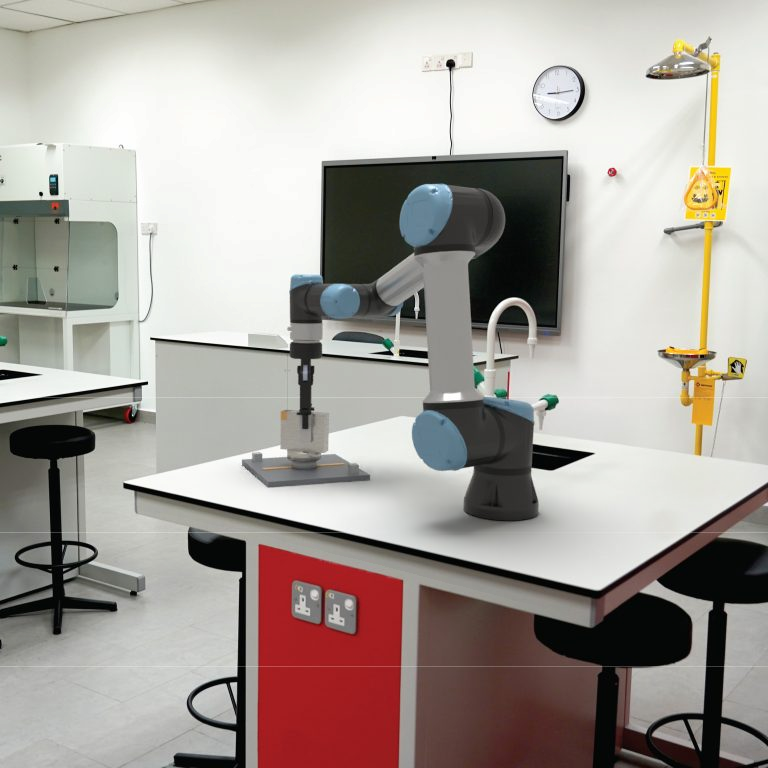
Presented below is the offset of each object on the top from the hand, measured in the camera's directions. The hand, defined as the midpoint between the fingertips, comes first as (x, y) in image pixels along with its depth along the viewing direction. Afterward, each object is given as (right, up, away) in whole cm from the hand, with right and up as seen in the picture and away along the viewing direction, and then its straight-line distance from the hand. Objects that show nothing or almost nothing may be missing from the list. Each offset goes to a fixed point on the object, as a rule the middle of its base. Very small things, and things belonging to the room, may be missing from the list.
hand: (305, 440), depth 213 cm
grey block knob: (0, -4, +1) cm, 4 cm away
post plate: (0, -8, +1) cm, 8 cm away
